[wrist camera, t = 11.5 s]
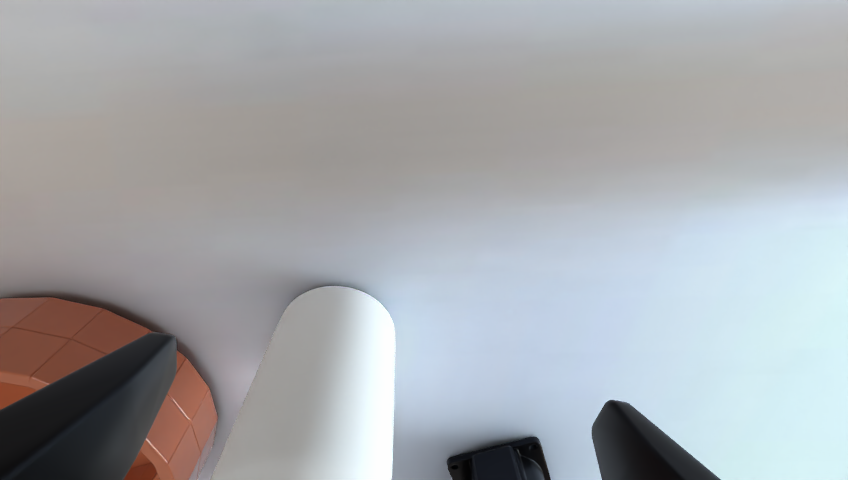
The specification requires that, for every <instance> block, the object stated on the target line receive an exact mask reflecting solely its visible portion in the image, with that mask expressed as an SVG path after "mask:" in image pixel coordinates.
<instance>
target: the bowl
mask: <svg viewBox="0 0 848 480" xmlns="http://www.w3.org/2000/svg"><path fill="white" fill-rule="evenodd" d="M151 332H152V331H150V330H149V329H148V328H145V327H143V326H141V325H139V324H137V323H134V322H132V321H130V320H128V319H126V318H124V317H121V316H119V315H117V314H115V313H113V312H110V311H108V310H106V309H103V308H99V307H95V306H90V305H86V304H81V303H76V302H72V301H67V300H63V299H58V298H52V297H38V298H2V299H0V410H1V409H3V408H5V407H7V406H9V405H11V404H12V403H14V402H16V401H18V400H20V399H22V398H24V397H26V396H28V395H30V394H32V393H34V392H36V391H38V390H40V389H42V388H43V387H45V386H47V385H49V384H51V383H53V382H55V381H57V380H59V379H61V378H63V377H65V376H67V375H69V374H71V373H73V372H74V371H76V370H78V369H80V368H82V367H84V366H86V365H88V364H90V363H92V362H94V361H96V360H98V359H100V358H102V357H103V356H105V355H107V354H109V353H111V352H113V351H115V350H117V349H119V348H121V347H123V346H125V345H127V344H129V343H131V342H133V341H134V340H136V339H138V338H140V337H142V336H144V335H146V334H148V333H151ZM217 421H218V416H217V413H216V409H215V406H214V402H213V399H212V395H211V392H210V389H209V387H208V386H207V384H206V383H205V382H204V380H203V379H202V378H201V376H200V375H199V374H198V372H197V371H196V369H195V368H194V367H193V365H192V364H191V363H190V361H189V360H188V359H187V358H186V357H185V356H184V355H182V354H181V353H180V352H178V351H177V370H176V375H175V378H174V380H173V383H172V385H171V387H170V389H169V391H168V393H167V395H166V397H165V399H164V401H163V404H162V406H161V408H160V410H159V412H158V414H157V416H156V418H155V420H154V422H153V425H152V427H151V429H150V431H149V433H148V435H147V437H146V439H145V441H144V443H143V445H142V447H141V449H140V451H139V453H138V455H137V457H136V459H135V461H134V463H133V464H132V466H131V468H130V469H129V471H128V473H127V474H126V476H125V478H124V479H123V480H197V479H198V477H199V475H200V473H201V471H202V468H203V466H204V464H205V462H206V460H207V457H208V455H209V453H210V451H211V449H212V447H213V444H214V438H215V433H216V427H217Z"/></svg>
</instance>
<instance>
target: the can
mask: <svg viewBox="0 0 848 480" xmlns="http://www.w3.org/2000/svg"><path fill="white" fill-rule="evenodd" d="M394 381H395V329H394V324H393V321H392V319H391V316H390V315H389V313H388V311H387V310H386V309H385V308H384V306H383V305H382V304H381V303H380V302H378V301H377V300H376V299H375V298H373V297H372V296H370V295H368V294H366V293H364V292H362V291H359V290H357V289H353V288H349V287H343V286H325V287H319V288H315V289H312V290H310V291H307V292H305V293H303V294H301V295H300V296H298V297H297V298H295V299H294V300H293V301H292V302H291V303H290V304H289V305H288V307H287V308H286V309H285V311H284V313H283V315H282V317H281V319H280V321H279V323H278V325H277V327H276V330H275V332H274V334H273V336H272V339H271V341H270V343H269V345H268V348H267V350H266V352H265V354H264V357H263V359H262V361H261V364H260V366H259V368H258V370H257V373H256V375H255V377H254V379H253V382H252V384H251V386H250V389H249V391H248V393H247V396H246V398H245V400H244V402H243V405H242V407H241V409H240V412H239V414H238V416H237V419H236V421H235V423H234V425H233V428H232V430H231V432H230V435H229V437H228V439H227V442H226V444H225V446H224V449H223V451H222V453H221V456H220V458H219V460H218V463H217V465H216V467H215V470H214V472H213V475H212V477H211V480H392V458H393V421H394Z"/></svg>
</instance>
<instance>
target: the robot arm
mask: <svg viewBox="0 0 848 480" xmlns="http://www.w3.org/2000/svg"><path fill="white" fill-rule="evenodd" d="M176 370H177V342H176V338H175V336H173V335H171V334H164V333H158V332H151V333H148V334H146V335H144V336H142V337H140V338H138V339H136V340H134V341H133V342H131V343H129V344H127V345H125V346H123V347H121V348H119V349H117V350H115V351H113V352H111V353H109V354H107V355H105V356H103V357H102V358H100V359H98V360H96V361H94V362H92V363H90V364H88V365H86V366H84V367H82V368H80V369H78V370H76V371H74V372H73V373H71V374H69V375H67V376H65V377H63V378H61V379H59V380H57V381H55V382H53V383H51V384H49V385H47V386H45V387H43V388H42V389H40V390H38V391H36V392H34V393H32V394H30V395H28V396H26V397H24V398H22V399H20V400H18V401H16V402H14V403H12V404H11V405H9V406H7V407H5V408H3V409H1V410H0V480H123V479H124V478H125V476H126V474H127V473H128V471H129V469H130V468H131V466H132V464H133V463H134V461H135V459H136V457H137V455H138V453H139V451H140V449H141V447H142V445H143V443H144V441H145V439H146V437H147V435H148V433H149V431H150V429H151V427H152V425H153V422H154V420H155V418H156V416H157V414H158V412H159V410H160V408H161V406H162V404H163V401H164V399H165V397H166V395H167V393H168V391H169V389H170V387H171V385H172V383H173V380H174V378H175V375H176ZM592 439H593V443H594V447H595V452H596V456H597V460H598V464H599V468H600V473H601V477H602V480H720V479H719V478H718V477H717V476H716V475H714V474H713V473H712V472H711V471H710V470H708V469H707V468H706V467H705V466H704V465H702V464H701V463H700V462H699V461H698V460H696V459H695V458H694V457H693V456H692V455H690V454H689V453H688V452H687V451H686V450H684V449H683V448H682V447H681V446H680V445H678V444H677V443H676V442H675V441H673V440H672V439H671V438H670V437H669V436H667V435H666V434H665V433H664V432H663V431H661V430H660V429H659V428H658V427H657V426H655V425H654V424H653V423H652V422H651V421H649V420H648V419H647V418H646V417H645V416H643V415H642V414H641V413H640V412H639V411H637V410H636V409H635V408H634V407H633V406H631V405H630V404H629V403H626V402H622V401H615V400H609V401H608V402H606V403H605V405H604V406H603V408H602V410H601V411H600V413H599V415H598V417H597V418H596V420H595V422H594V424H593V426H592ZM447 465H448V470H449V472H450V475H451V477H452V479H453V480H551V479H550V475H549V472H548V468H547V465H546V461H545V458H544V454H543V451H542V447H541V444H540V441H539V439H538V438H537V437H529V438H525V439H521V440H517V441H514V442H510V443H506V444H502V445H498V446H494V447H490V448H486V449H482V450H479V451H475V452H471V453H467V454H463V455H459V456H455V457H452V458H450V459H448V461H447Z"/></svg>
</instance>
